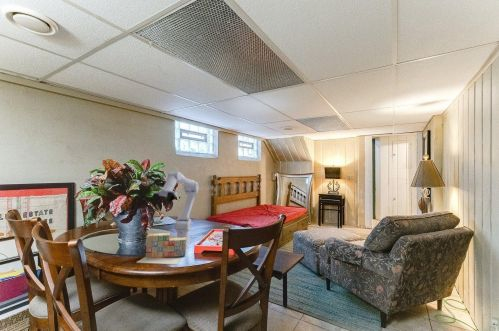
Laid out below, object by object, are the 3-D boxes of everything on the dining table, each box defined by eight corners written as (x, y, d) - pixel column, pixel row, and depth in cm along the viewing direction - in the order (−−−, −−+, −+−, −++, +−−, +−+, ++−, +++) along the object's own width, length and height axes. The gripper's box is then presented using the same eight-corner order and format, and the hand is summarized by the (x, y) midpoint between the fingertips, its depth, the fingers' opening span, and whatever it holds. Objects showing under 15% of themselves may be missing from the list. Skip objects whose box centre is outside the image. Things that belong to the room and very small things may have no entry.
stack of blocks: (186, 253, 139) (186, 232, 140) (185, 256, 133) (185, 234, 134) (147, 255, 135) (148, 233, 136) (145, 258, 129) (146, 235, 130)
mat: (144, 257, 131) (144, 256, 131) (182, 259, 129) (182, 258, 129) (136, 262, 123) (136, 262, 124) (175, 264, 121) (175, 264, 121)
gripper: (155, 183, 139) (144, 201, 130) (176, 182, 136) (167, 200, 126) (160, 190, 144) (151, 208, 134) (181, 189, 140) (173, 208, 131)
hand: (159, 205), depth 131 cm, fingers open, 7 cm apart
